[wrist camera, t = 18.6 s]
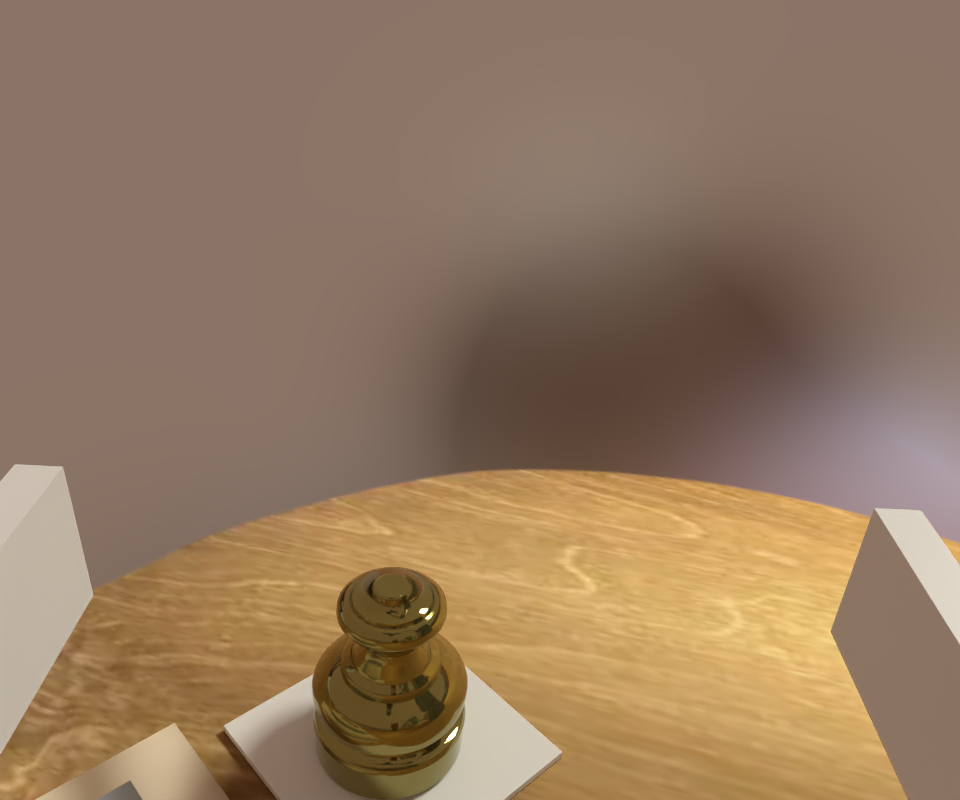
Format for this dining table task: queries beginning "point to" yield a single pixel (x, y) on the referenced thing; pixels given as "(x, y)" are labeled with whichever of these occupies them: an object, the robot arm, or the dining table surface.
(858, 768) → the dining table surface
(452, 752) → the brass bell weight
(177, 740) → the light wooden flat frame
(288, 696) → the mat
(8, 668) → the robot arm
